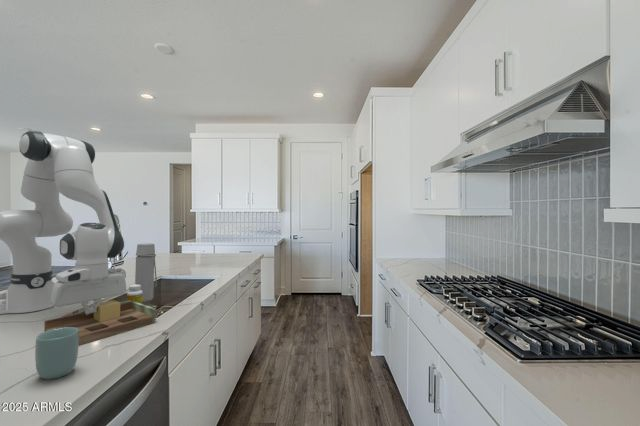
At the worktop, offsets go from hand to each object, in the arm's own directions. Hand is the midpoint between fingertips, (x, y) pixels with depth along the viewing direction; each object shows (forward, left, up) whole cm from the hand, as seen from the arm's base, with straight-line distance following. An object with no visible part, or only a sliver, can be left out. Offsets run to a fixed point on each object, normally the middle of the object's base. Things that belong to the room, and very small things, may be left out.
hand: (91, 313), depth 99 cm
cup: (+26, -17, -6) cm, 31 cm away
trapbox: (+3, +2, -5) cm, 7 cm away
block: (0, +5, -3) cm, 5 cm away
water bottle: (-19, +28, -5) cm, 35 cm away
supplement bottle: (-9, +18, -6) cm, 21 cm away
